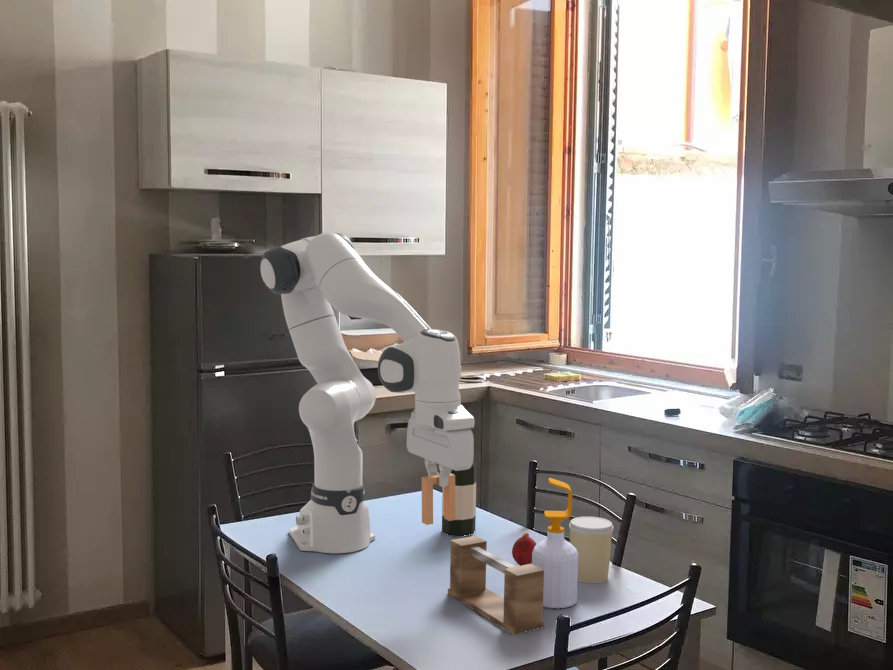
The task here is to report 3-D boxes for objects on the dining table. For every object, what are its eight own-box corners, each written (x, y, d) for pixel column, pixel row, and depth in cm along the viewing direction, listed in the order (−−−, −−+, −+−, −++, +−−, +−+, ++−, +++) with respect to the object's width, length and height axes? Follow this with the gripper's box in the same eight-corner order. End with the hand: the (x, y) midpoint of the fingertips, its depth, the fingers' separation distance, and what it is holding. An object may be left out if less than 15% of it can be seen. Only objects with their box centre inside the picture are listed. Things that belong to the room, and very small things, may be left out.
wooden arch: (421, 522, 184) (421, 477, 184) (450, 517, 188) (449, 472, 187) (426, 524, 183) (426, 479, 182) (455, 519, 186) (455, 474, 185)
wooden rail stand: (447, 593, 192) (448, 540, 190) (476, 587, 195) (477, 535, 194) (513, 634, 172) (515, 576, 171) (544, 627, 176) (546, 569, 174)
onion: (536, 573, 204) (537, 537, 203) (510, 571, 205) (510, 535, 204) (539, 564, 209) (540, 529, 208) (513, 562, 210) (514, 527, 210)
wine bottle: (454, 524, 238) (456, 406, 235) (482, 530, 233) (484, 410, 230) (434, 532, 231) (436, 411, 228) (462, 539, 226) (465, 415, 223)
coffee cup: (620, 579, 201) (622, 524, 200) (587, 588, 196) (589, 531, 195) (591, 566, 209) (593, 513, 208) (558, 574, 204) (560, 519, 202)
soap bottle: (529, 591, 193) (532, 473, 191) (574, 593, 193) (578, 474, 190) (532, 608, 184) (535, 485, 182) (579, 610, 184) (583, 486, 182)
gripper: (398, 407, 190) (399, 474, 192) (450, 423, 173) (450, 497, 174) (426, 404, 194) (426, 471, 195) (479, 420, 176) (479, 493, 177)
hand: (438, 483), depth 184 cm, fingers closed on wooden arch, 2 cm apart
